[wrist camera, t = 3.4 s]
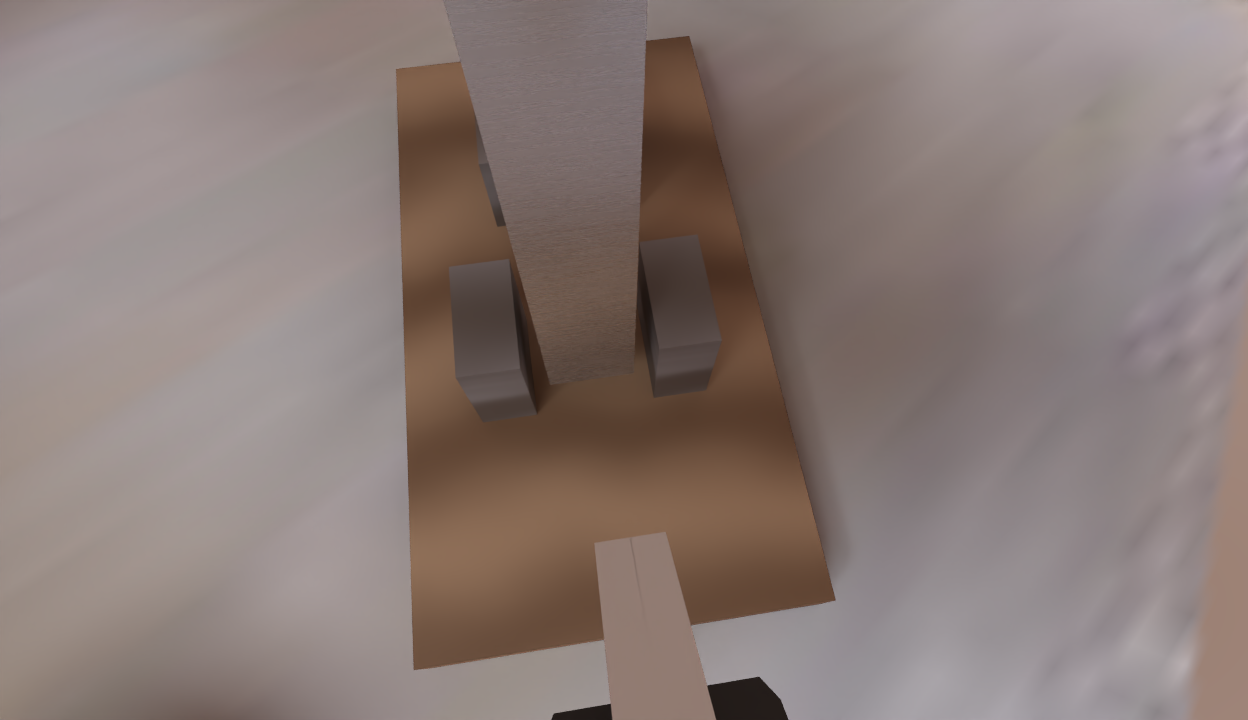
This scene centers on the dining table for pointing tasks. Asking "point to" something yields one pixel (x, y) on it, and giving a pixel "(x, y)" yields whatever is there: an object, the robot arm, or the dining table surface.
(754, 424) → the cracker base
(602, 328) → the lever
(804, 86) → the dining table surface
